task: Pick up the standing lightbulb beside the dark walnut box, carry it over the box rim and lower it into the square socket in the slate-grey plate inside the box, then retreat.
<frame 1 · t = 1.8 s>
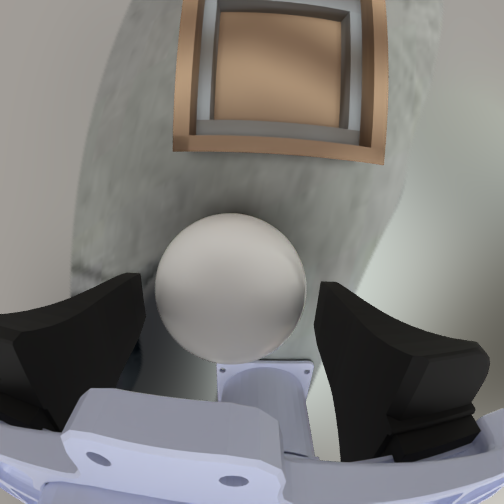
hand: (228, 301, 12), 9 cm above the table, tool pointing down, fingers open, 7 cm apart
socket box: (280, 47, 16), on the table
lightbulb: (238, 232, 20), on the table
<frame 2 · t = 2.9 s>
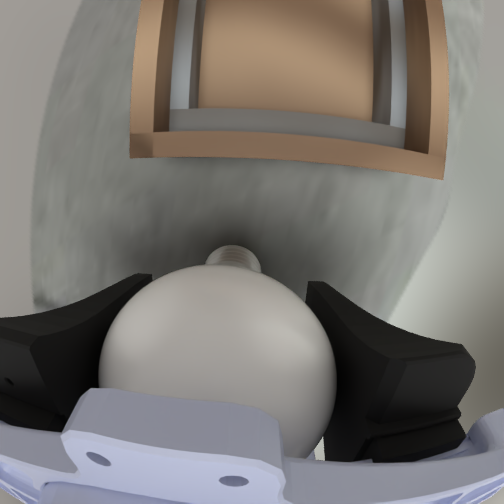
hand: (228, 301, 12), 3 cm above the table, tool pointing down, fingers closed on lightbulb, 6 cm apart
socket box: (290, 13, 11), on the table
lightbulb: (233, 264, 15), on the table, touching gripper
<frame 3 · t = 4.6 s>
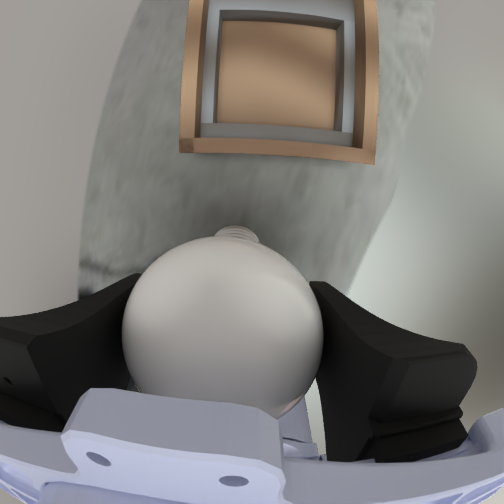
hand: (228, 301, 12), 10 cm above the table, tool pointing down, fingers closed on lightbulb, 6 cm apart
socket box: (278, 54, 17), on the table
lightbulb: (236, 243, 17), point 5 cm above the table, touching gripper
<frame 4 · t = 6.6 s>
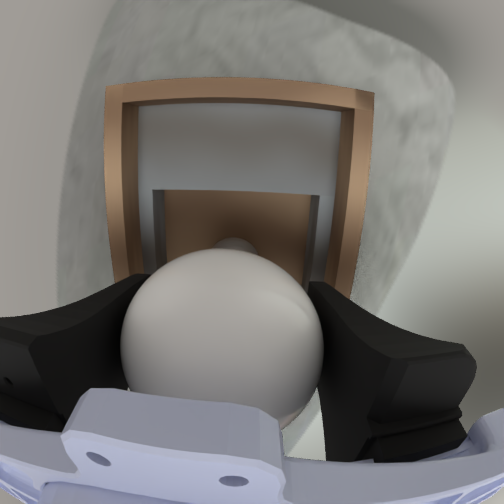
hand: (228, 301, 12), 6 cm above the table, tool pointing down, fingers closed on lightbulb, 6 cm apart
socket box: (236, 224, 17), on the table
lightbulb: (234, 255, 17), resting on socket box, touching gripper
when the fingers open (6 cm above the table, at t = 7.8 s): lightbulb stays where it is, resting on socket box.
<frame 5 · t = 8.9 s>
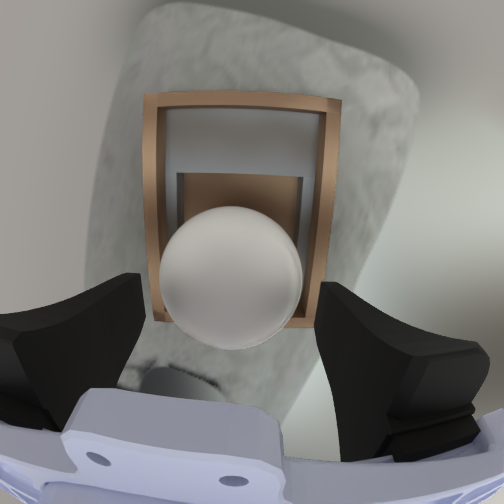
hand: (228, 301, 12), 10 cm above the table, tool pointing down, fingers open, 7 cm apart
socket box: (239, 202, 21), on the table
lightbulb: (238, 226, 21), resting on socket box
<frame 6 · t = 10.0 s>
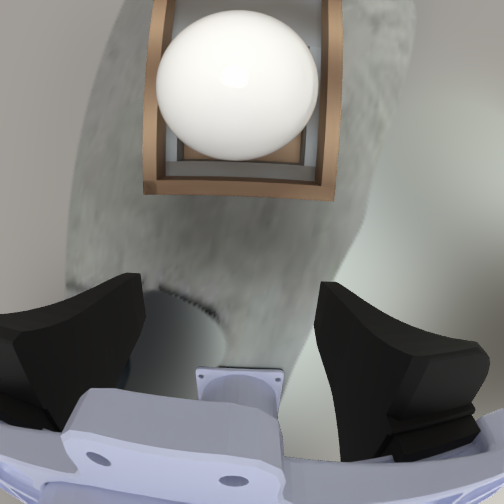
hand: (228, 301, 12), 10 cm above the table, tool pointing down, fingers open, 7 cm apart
socket box: (244, 83, 18), on the table
lightbulb: (242, 105, 18), resting on socket box
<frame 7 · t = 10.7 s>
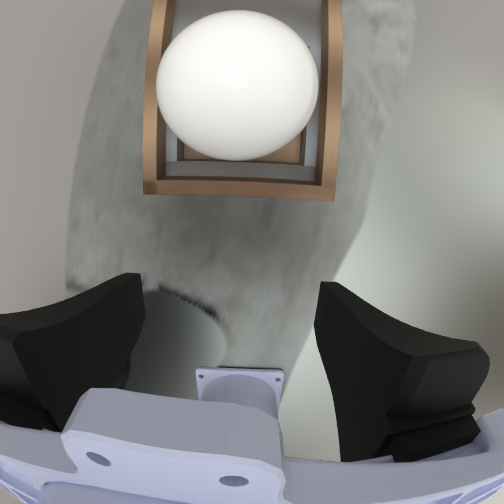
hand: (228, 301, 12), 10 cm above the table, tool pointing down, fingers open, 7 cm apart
socket box: (244, 83, 18), on the table
lightbulb: (242, 105, 18), resting on socket box
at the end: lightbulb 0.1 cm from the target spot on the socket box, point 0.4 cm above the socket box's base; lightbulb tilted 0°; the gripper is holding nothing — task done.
